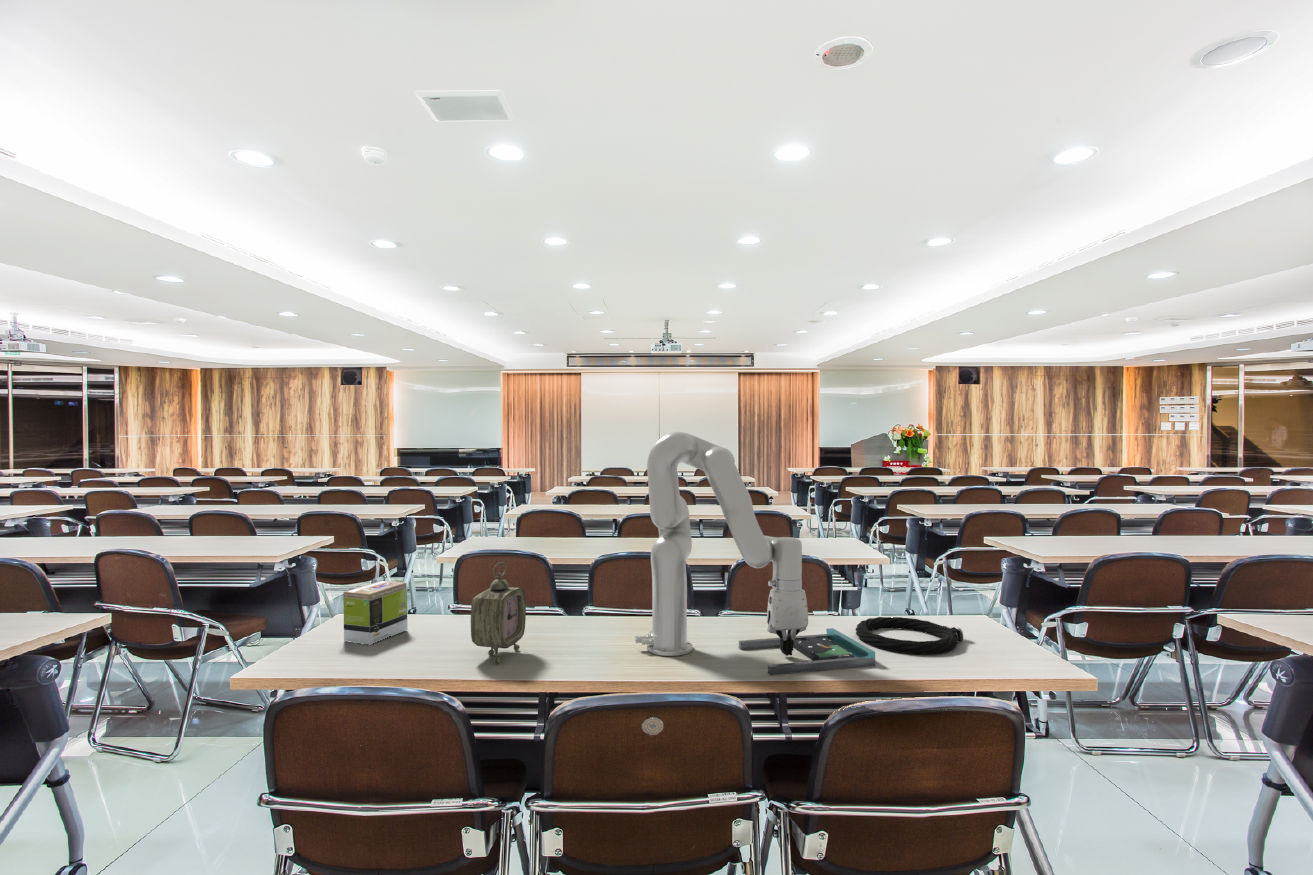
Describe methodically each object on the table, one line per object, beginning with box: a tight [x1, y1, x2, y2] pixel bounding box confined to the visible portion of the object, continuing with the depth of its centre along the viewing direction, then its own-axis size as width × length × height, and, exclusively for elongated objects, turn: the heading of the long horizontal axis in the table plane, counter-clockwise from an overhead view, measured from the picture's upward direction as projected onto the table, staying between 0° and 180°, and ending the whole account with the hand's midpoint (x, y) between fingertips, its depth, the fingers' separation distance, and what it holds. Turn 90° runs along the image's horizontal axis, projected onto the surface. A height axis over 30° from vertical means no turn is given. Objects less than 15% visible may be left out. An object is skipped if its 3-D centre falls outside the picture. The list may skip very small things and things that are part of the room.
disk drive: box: [793, 638, 854, 661], centre depth 166 cm, size 10×3×15 cm
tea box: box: [343, 580, 408, 646], centre depth 181 cm, size 15×10×15 cm
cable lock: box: [855, 616, 964, 656], centre depth 179 cm, size 28×4×30 cm
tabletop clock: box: [470, 561, 527, 665], centre depth 164 cm, size 14×9×25 cm, turn 166°
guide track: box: [738, 627, 876, 676], centre depth 165 cm, size 29×21×4 cm
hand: (786, 653), depth 164 cm, fingers closed
